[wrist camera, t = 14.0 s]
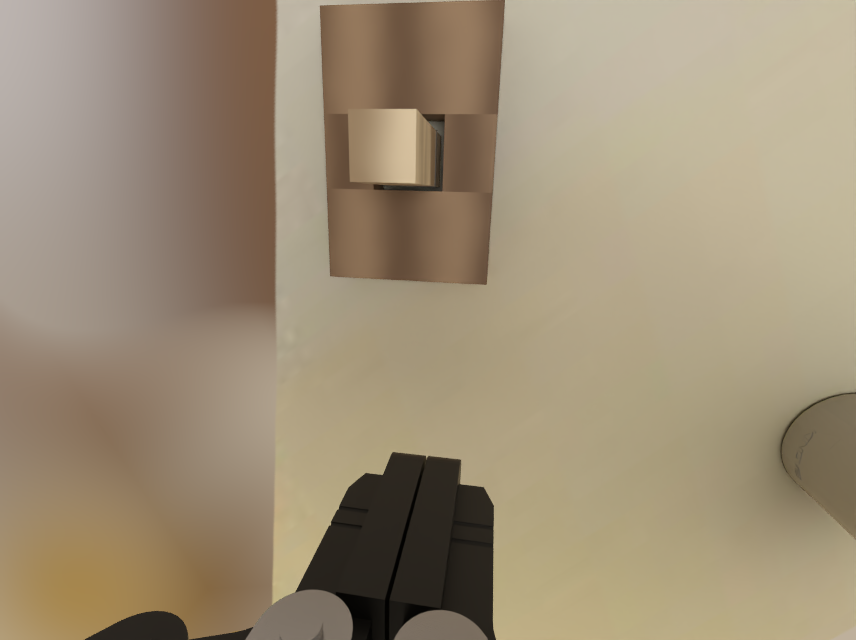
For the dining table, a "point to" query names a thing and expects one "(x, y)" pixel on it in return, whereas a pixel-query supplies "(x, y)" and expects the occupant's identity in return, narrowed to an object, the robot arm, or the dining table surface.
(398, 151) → the beech peg
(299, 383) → the dining table surface
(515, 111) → the dining table surface
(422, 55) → the walnut board
